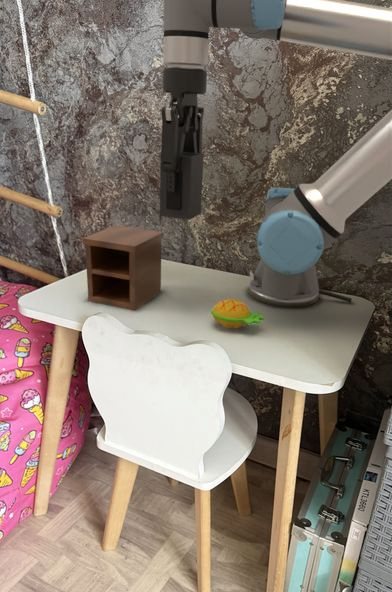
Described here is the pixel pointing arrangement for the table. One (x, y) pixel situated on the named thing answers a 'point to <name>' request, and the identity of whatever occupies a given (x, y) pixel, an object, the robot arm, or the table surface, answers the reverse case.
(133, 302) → the shelf
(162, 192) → the black upright box
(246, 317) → the orange toy pineapple
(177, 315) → the table surface
